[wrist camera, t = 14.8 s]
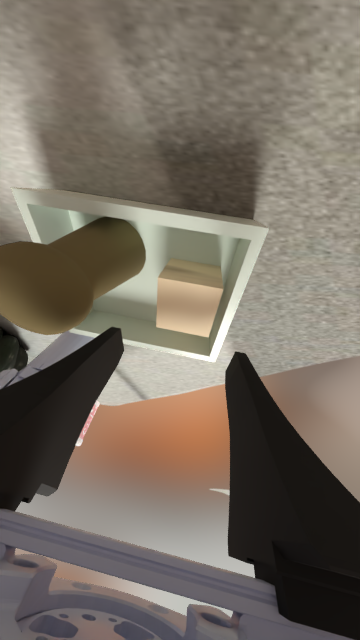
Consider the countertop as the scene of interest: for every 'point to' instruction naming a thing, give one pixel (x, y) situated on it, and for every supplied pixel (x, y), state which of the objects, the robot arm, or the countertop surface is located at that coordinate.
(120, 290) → the tote
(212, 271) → the maple cube
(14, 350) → the squash
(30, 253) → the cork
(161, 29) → the countertop surface
